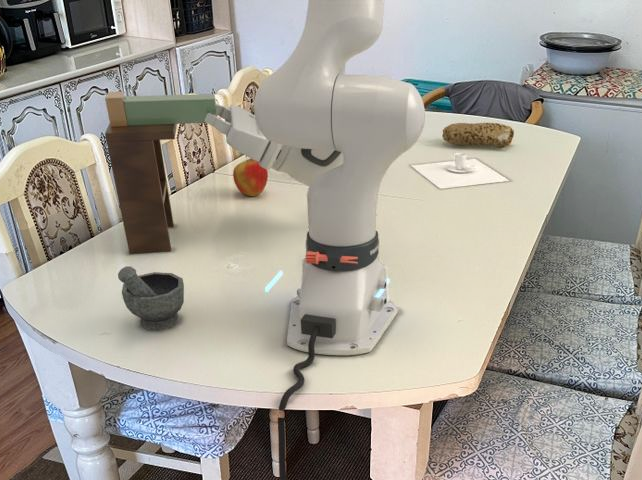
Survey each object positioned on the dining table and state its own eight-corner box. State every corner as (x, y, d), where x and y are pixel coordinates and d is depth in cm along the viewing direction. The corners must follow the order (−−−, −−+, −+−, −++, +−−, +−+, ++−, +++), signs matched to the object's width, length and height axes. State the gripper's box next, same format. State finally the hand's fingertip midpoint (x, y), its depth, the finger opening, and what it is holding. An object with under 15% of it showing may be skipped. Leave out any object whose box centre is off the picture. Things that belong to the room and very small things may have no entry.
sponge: (511, 146, 214) (450, 126, 217) (518, 123, 208) (456, 102, 212) (499, 166, 205) (436, 144, 208) (506, 142, 199) (441, 120, 203)
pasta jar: (217, 116, 139) (214, 89, 136) (217, 123, 135) (214, 95, 132) (113, 119, 135) (108, 91, 132) (110, 126, 131) (104, 98, 128)
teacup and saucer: (481, 173, 188) (482, 158, 186) (454, 176, 185) (455, 160, 183) (467, 163, 195) (468, 149, 193) (441, 166, 192) (441, 151, 190)
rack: (192, 224, 154) (176, 112, 141) (191, 250, 142) (173, 130, 130) (135, 227, 151) (113, 114, 139) (129, 254, 140) (104, 133, 127)
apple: (259, 202, 166) (255, 160, 161) (229, 197, 168) (224, 156, 163) (275, 191, 173) (272, 151, 167) (246, 187, 175) (242, 147, 169)
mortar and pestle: (155, 303, 123) (143, 240, 117) (200, 314, 120) (190, 249, 114) (111, 333, 114) (95, 266, 108) (158, 345, 111) (145, 277, 105)
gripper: (274, 116, 149) (212, 84, 143) (282, 143, 132) (212, 107, 126) (261, 143, 151) (200, 112, 145) (267, 172, 134) (198, 139, 128)
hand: (205, 110), depth 136 cm, fingers open, 8 cm apart
